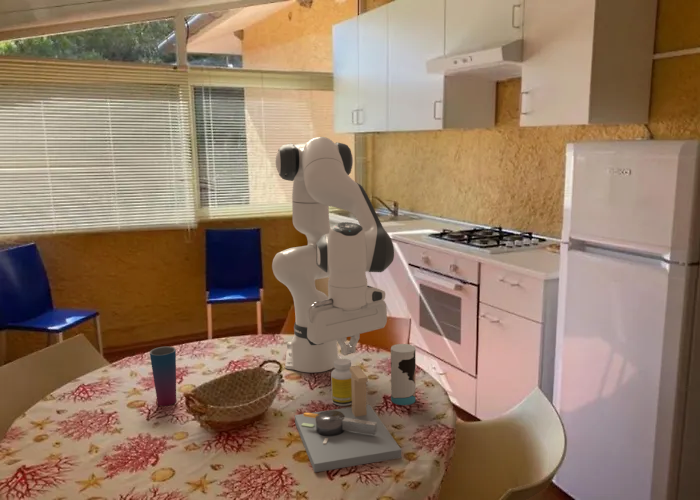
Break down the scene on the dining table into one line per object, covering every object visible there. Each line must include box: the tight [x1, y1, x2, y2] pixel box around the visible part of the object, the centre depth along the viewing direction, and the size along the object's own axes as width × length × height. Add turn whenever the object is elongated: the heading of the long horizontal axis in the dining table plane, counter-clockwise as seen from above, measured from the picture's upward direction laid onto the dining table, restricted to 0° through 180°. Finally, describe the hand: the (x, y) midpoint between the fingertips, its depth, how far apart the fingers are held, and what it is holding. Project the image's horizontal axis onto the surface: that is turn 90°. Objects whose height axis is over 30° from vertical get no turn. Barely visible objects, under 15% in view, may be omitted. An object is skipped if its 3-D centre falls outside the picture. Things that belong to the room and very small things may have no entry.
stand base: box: [294, 365, 402, 473], centre depth 139 cm, size 24×20×13 cm
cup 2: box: [390, 343, 416, 406], centre depth 160 cm, size 7×7×15 cm
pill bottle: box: [330, 358, 352, 407], centre depth 160 cm, size 6×6×12 cm
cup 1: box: [149, 346, 177, 407], centre depth 162 cm, size 7×7×15 cm
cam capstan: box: [303, 409, 377, 437], centre depth 140 cm, size 18×7×3 cm, turn 70°
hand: (348, 353), depth 135 cm, fingers closed
